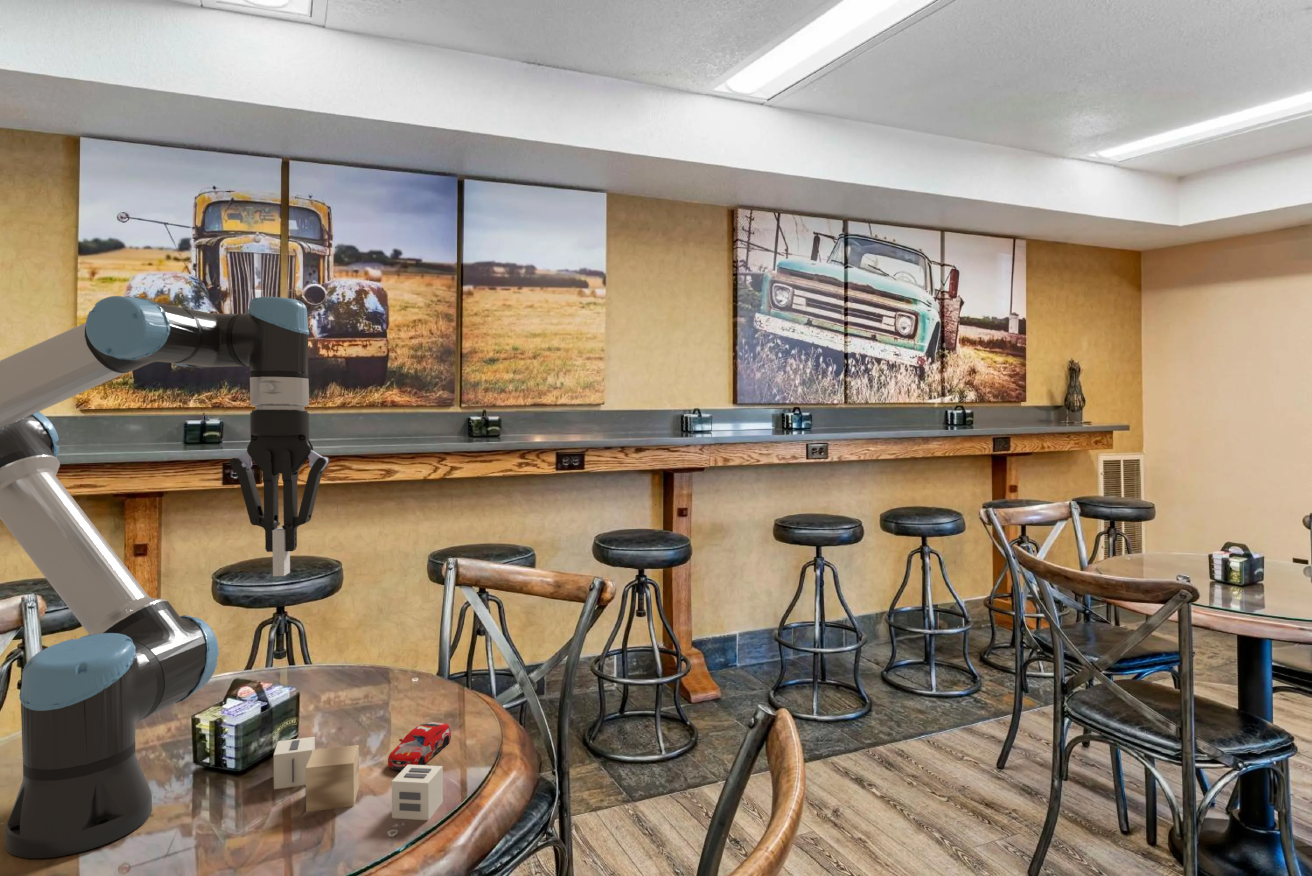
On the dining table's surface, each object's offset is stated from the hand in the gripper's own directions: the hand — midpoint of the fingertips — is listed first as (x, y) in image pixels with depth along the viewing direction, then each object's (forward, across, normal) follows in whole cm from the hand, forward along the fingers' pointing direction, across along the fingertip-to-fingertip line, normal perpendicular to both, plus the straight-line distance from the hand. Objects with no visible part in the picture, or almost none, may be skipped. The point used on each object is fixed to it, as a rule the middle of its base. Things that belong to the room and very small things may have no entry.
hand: (281, 574), depth 111 cm
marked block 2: (+31, +20, -10) cm, 38 cm away
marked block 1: (+31, +1, +2) cm, 31 cm away
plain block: (+31, +8, -5) cm, 32 cm away
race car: (+31, +18, +8) cm, 37 cm away
